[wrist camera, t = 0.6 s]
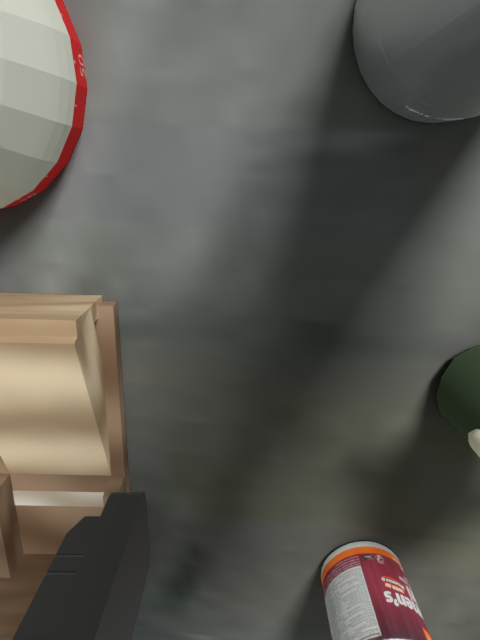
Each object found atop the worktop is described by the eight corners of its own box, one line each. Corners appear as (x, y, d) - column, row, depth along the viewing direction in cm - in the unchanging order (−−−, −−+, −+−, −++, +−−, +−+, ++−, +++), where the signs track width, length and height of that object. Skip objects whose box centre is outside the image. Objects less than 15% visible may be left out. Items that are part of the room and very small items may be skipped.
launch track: (-11, 284, 28) (-115, 333, 20) (124, 287, 28) (77, 338, 20) (30, 533, 35) (-35, 648, 27) (139, 535, 35) (108, 650, 27)
